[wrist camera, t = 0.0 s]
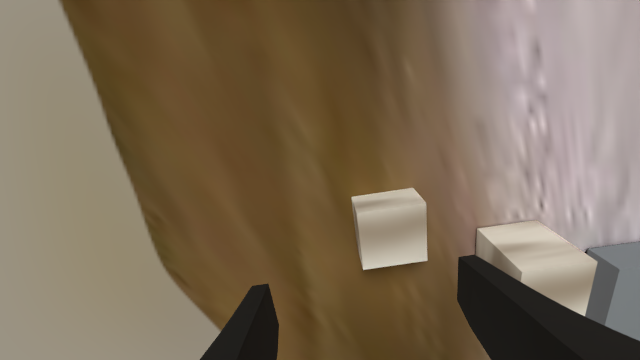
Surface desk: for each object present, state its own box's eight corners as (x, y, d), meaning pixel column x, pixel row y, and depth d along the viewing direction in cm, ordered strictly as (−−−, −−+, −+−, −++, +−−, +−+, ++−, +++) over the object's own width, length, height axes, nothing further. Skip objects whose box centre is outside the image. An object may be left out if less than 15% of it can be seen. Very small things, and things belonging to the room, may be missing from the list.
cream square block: (529, 268, 23) (584, 318, 19) (474, 276, 24) (515, 327, 19) (536, 220, 22) (597, 261, 17) (477, 228, 22) (522, 272, 17)
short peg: (414, 240, 22) (427, 260, 20) (357, 248, 22) (363, 269, 20) (413, 187, 21) (426, 202, 18) (351, 196, 21) (356, 213, 19)
